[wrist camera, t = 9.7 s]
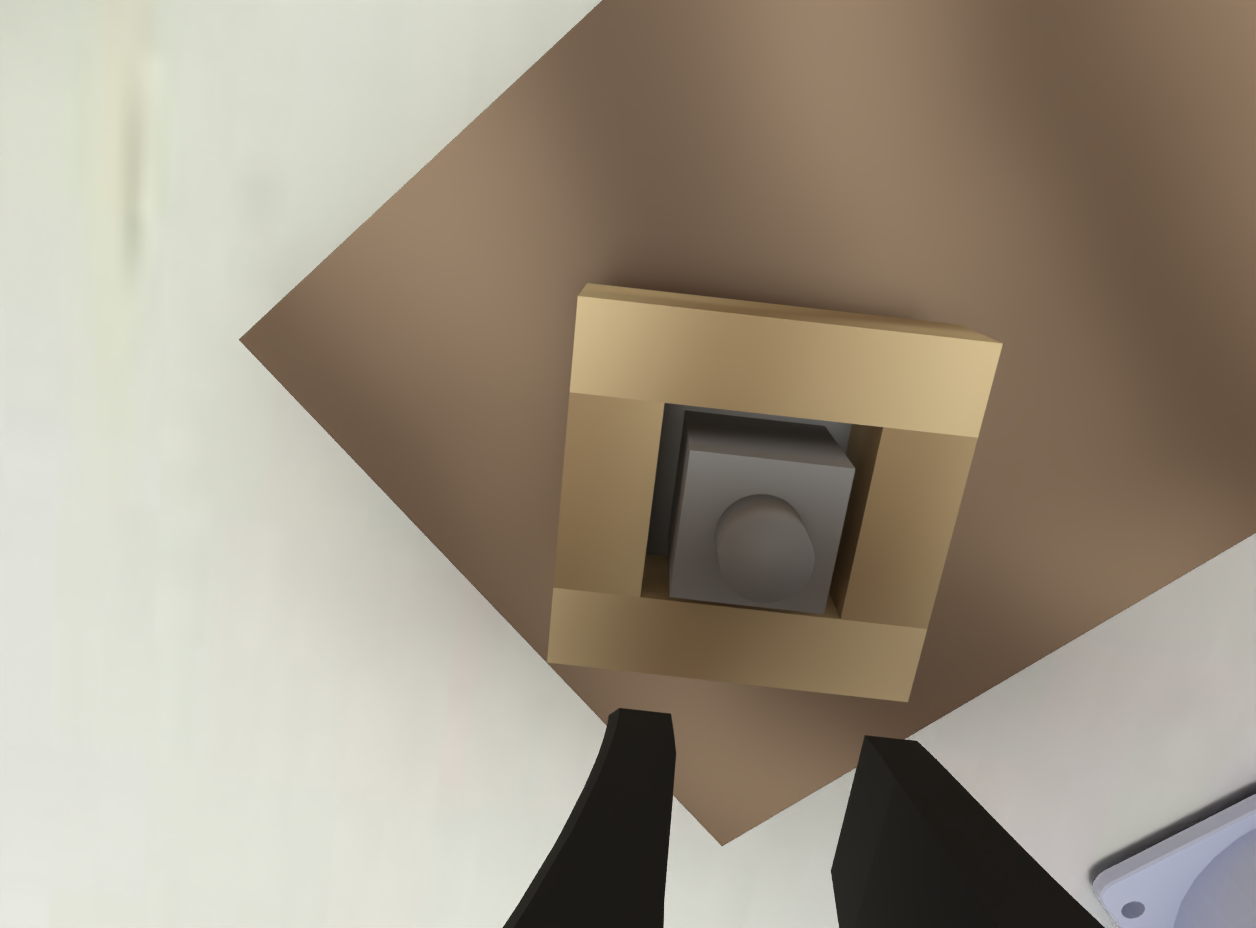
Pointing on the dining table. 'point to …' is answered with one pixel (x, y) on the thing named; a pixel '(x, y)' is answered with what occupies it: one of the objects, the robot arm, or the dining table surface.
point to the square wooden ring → (776, 385)
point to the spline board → (831, 280)
